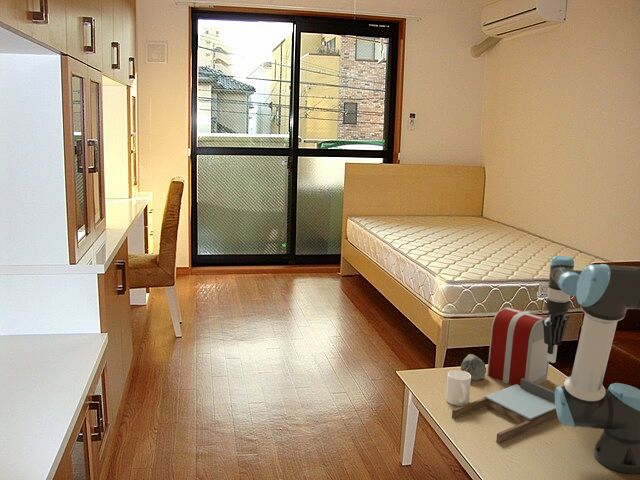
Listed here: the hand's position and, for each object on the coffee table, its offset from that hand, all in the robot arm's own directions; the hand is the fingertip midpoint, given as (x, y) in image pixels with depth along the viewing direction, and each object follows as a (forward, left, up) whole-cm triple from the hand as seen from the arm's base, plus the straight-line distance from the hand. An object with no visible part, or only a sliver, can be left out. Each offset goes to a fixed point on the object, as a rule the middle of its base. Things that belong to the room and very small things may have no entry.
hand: (550, 361), depth 228 cm
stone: (+29, +8, -16) cm, 34 cm away
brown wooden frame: (0, +23, -15) cm, 27 cm away
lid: (0, +15, -12) cm, 19 cm away
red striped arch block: (+19, -7, -16) cm, 26 cm away
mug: (+16, +30, -16) cm, 37 cm away
